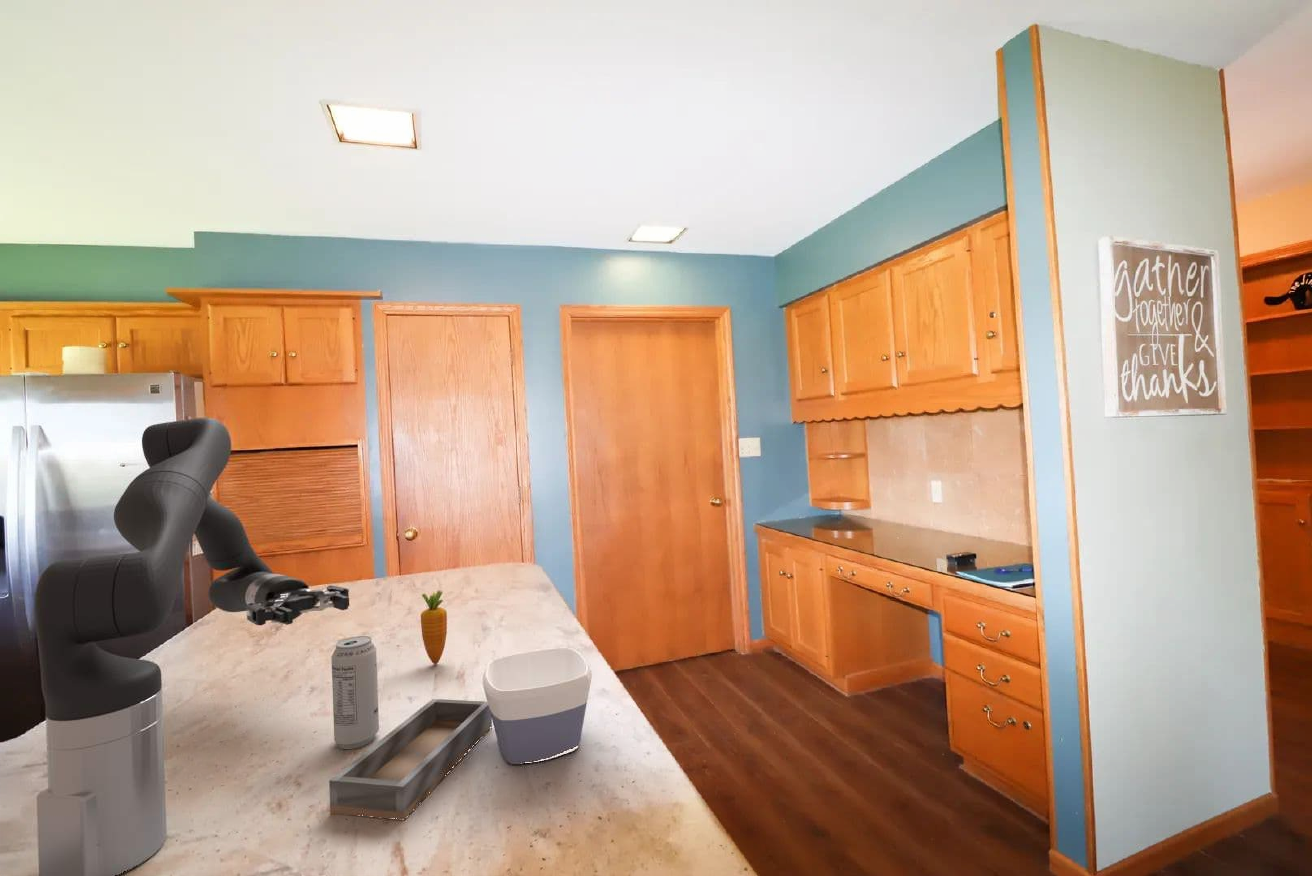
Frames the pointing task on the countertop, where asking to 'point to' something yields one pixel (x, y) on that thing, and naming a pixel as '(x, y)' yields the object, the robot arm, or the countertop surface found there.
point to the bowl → (537, 702)
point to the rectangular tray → (409, 760)
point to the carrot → (434, 627)
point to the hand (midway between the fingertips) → (319, 610)
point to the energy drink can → (355, 692)
